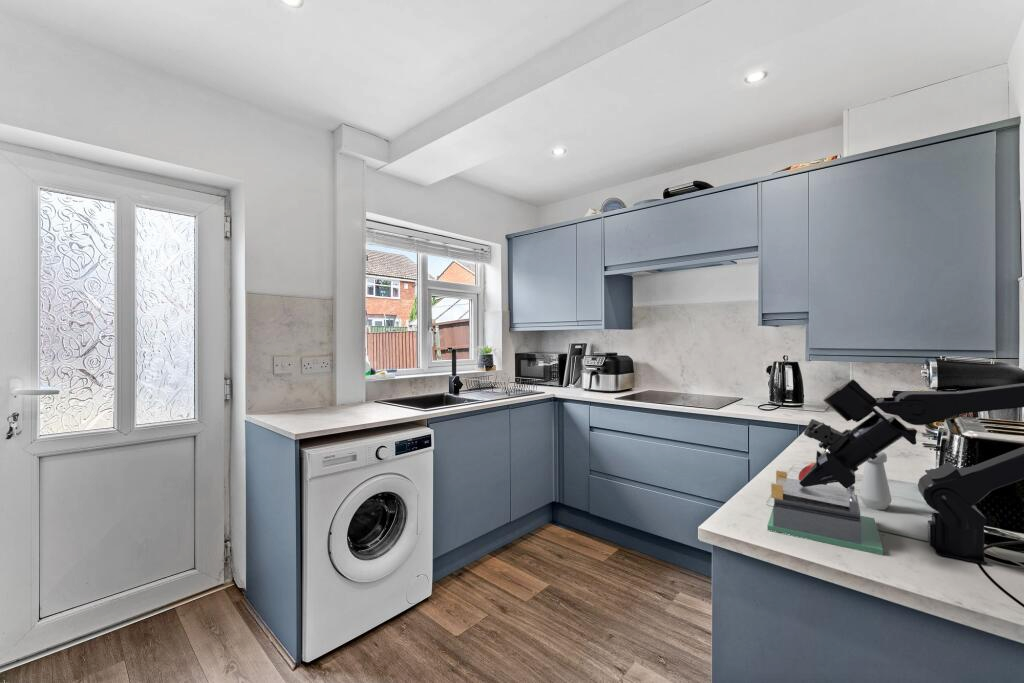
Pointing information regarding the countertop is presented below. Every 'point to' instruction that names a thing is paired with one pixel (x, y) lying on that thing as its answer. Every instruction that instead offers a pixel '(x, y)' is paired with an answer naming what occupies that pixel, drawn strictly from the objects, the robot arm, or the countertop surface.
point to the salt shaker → (875, 484)
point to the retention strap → (817, 492)
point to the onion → (806, 471)
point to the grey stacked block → (815, 515)
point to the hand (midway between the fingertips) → (801, 484)
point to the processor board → (868, 540)
